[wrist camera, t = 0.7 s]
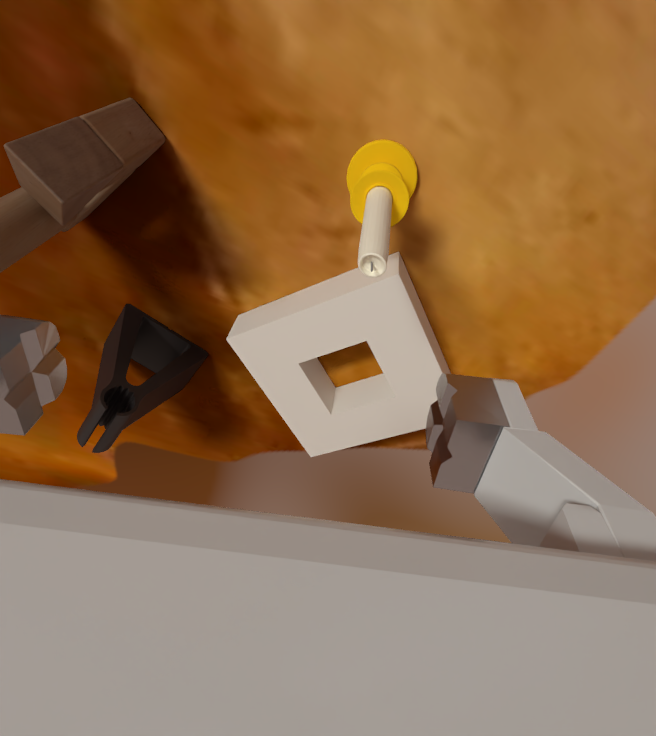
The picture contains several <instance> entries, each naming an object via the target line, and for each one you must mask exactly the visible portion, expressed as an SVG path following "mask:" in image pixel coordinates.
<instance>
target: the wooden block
mask: <svg viewBox="0 0 656 736" xmlns="http://www.w3.org/2000/svg"><path fill="white" fill-rule="evenodd" d="M164 142H165V137H164V135H163V134H162V133H161V131H160V130H159V129H158V128H157V127H156V125H155V124H154V123H153V122H152V121H151V119H150V118H149V117H148V116H147V115H146V113H145V112H144V111H143V110H142V109H141V107H140V106H139V105H138V104H137V103H136V101H135V100H133V99H132V98H127V99H124V100H122V101H119V102H116V103H114V104H111V105H108V106H106V107H103V108H100V109H98V110H95V111H92V112H90V113H87V114H84V115H82V116H79V117H75V118H72V119H70V120H67V121H65V122H62V123H59V124H57V125H54V126H51V127H49V128H46V129H43V130H41V131H38V132H35V133H33V134H30V135H27V136H25V137H22V138H19V139H17V140H14V141H11V142H8V143H6V144H5V145H4V148H5V150H6V153H7V155H8V157H9V160H10V162H11V165H12V167H13V169H14V172H15V174H16V177H17V179H18V181H19V184H20V186H21V188H19V189H17V190H15V191H13V192H11V193H9V194H7V195H5V196H3V197H1V198H0V272H2V271H3V270H5V269H6V268H8V267H9V266H11V265H12V264H13V263H15V262H16V261H18V260H19V259H21V258H22V257H24V256H25V255H26V254H28V253H29V252H31V251H32V250H34V249H35V248H37V247H38V246H40V245H41V244H42V243H44V242H45V241H47V240H48V239H50V238H51V237H53V236H54V235H55V234H57V233H58V232H60V231H63V232H65V231H68V230H69V229H71V228H72V227H73V226H75V225H76V224H78V223H79V222H81V221H82V220H83V219H85V218H86V217H87V216H88V215H89V214H90V213H92V212H93V211H94V210H95V209H96V208H97V207H98V206H99V205H100V204H101V203H102V202H103V201H104V200H105V199H106V198H107V197H108V196H109V195H110V194H111V193H112V192H113V191H114V190H115V189H117V188H118V187H119V186H120V185H121V184H122V183H123V182H124V181H125V180H126V179H127V178H128V177H129V176H130V175H131V174H132V173H133V172H134V171H135V169H136V168H138V167H139V166H141V165H142V164H143V163H144V162H145V161H146V160H147V159H148V158H149V157H150V156H151V155H152V154H153V153H154V152H155V151H156V150H157V149H158V148H159V147H160V146H161V145H162V144H164Z"/></svg>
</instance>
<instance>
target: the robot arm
mask: <svg viewBox="0 0 656 736" xmlns="http://www.w3.org/2000/svg"><path fill="white" fill-rule="evenodd" d="M59 341H60V338H59V335H58V331H57V328H56V326H55V325H53V324H52V323H51V322H49V321H42V320H35V319H29V318H22V317H15V316H9V315H0V433H6V434H16V435H25V434H26V433H27V432H28V431H29V430H30V428H31V427H32V426H33V425H34V424H35V423H36V421H37V420H38V419H39V418H40V417H41V416H42V415H43V410H42V406H43V405H45V404H47V403H49V402H52V401H54V400H55V399H56V398H57V397H58V396H59V394H60V393H61V392H62V390H63V388H64V385H65V382H66V379H67V366H66V362H65V358H64V357H63V356H62V355H61V354H60V353H59V352H58V351H57V350H56V349H55V347H56V346H57V344H58V343H59ZM436 393H437V399H438V400H437V401H435V402H434V403H433V404H431V406H430V409H429V413H428V417H427V423H426V444H427V448H428V449H429V450H430V451H431V452H432V456H431V460H430V462H429V464H430V471H431V477H432V483H433V487H435V488H441V489H448V490H454V491H462V492H468V493H474V496H475V497H476V499H477V500H478V501H479V502H480V504H481V505H482V506H483V507H484V509H485V510H486V511H487V512H488V514H489V515H490V516H491V517H492V519H493V520H494V521H495V522H496V524H497V525H498V526H499V527H500V529H501V530H502V531H503V532H504V534H505V535H506V536H507V537H508V539H509V540H510V541H511V542H512V543H505V542H497V541H489V540H481V539H473V538H465V537H456V536H448V535H440V534H431V533H423V532H415V531H407V530H400V529H392V528H384V527H376V526H367V525H360V524H352V523H344V522H336V521H329V520H320V519H313V518H305V517H297V516H289V515H281V514H273V513H266V512H258V511H250V510H242V509H234V508H226V507H218V506H210V505H202V504H194V503H185V502H178V501H170V500H162V499H154V498H146V497H138V496H130V495H121V494H114V493H106V492H97V491H89V490H82V489H74V488H66V487H58V486H50V485H42V484H34V483H26V482H18V481H10V480H2V479H0V736H656V517H655V516H654V514H653V513H652V512H651V511H649V510H648V509H647V508H646V507H644V506H643V505H642V504H641V503H639V502H638V501H637V500H635V499H634V498H633V497H631V496H630V495H629V494H627V493H626V492H624V491H623V490H622V489H621V488H619V487H618V486H617V485H615V484H614V483H613V482H611V481H610V480H608V479H607V478H606V477H605V476H603V475H602V474H601V473H599V472H598V471H597V470H595V469H594V468H593V467H591V466H590V465H589V464H588V463H586V462H585V461H583V460H582V459H581V458H580V457H578V456H577V455H575V454H574V453H573V452H572V451H570V450H569V449H568V448H566V447H565V446H564V445H562V444H561V443H560V442H558V441H557V440H556V439H554V438H553V437H552V436H550V435H549V434H548V433H546V432H541V431H538V429H537V427H536V424H535V422H534V420H533V418H532V416H531V413H530V411H529V409H528V407H527V405H526V402H525V400H524V398H523V396H522V393H521V391H520V389H519V387H518V384H517V383H516V382H515V381H513V380H506V379H495V378H482V377H473V376H464V375H455V374H445V373H442V374H441V376H440V378H439V380H438V383H437V386H436Z"/></svg>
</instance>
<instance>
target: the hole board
mask: <svg viewBox="0 0 656 736" xmlns="http://www.w3.org/2000/svg"><path fill="white" fill-rule="evenodd" d="M226 340H227V341H228V343H229V344H230V345H231V347H232V348H233V350H234V351H235V352H236V354H237V355H238V357H239V358H240V359H241V361H242V362H243V363H244V365H245V366H246V368H247V369H248V370H249V372H250V373H251V375H252V376H253V377H254V379H255V380H256V382H257V383H258V384H259V386H260V387H261V389H262V390H263V391H264V393H265V394H266V395H267V397H268V398H269V400H270V401H271V402H272V404H273V405H274V407H275V408H276V409H277V411H278V412H279V414H280V415H281V416H282V418H283V419H284V421H285V422H286V423H287V425H288V426H289V427H290V429H291V430H292V432H293V433H294V434H295V436H296V437H297V439H298V440H299V441H300V443H301V444H302V446H303V447H304V448H305V450H306V451H307V453H308V454H309V455H310V457H313V456H317V455H321V454H325V453H329V452H333V451H337V450H341V449H345V448H349V447H353V446H357V445H361V444H365V443H369V442H373V441H377V440H381V439H385V438H389V437H393V436H397V435H401V434H405V433H409V432H413V431H417V430H421V429H425V428H426V423H427V417H428V413H429V409H430V406H431V404H433V403H434V402H435V401H437V400H438V399H437V393H436V386H437V383H438V380H439V378H440V376H441V374H442V373H445V374H451V372H450V370H449V368H448V365H447V363H446V361H445V358H444V356H443V354H442V351H441V349H440V347H439V344H438V342H437V340H436V337H435V335H434V333H433V330H432V328H431V326H430V323H429V321H428V318H427V316H426V314H425V311H424V309H423V307H422V304H421V302H420V300H419V297H418V295H417V293H416V290H415V288H414V286H413V283H412V281H411V279H410V276H409V274H408V272H407V269H406V267H405V265H404V262H403V260H402V258H401V255H400V253H399V252H396V253H394V254H391V255H389V256H388V260H387V268H386V271H385V273H384V274H383V275H382V276H380V277H376V278H372V277H368V276H366V275H364V274H363V273H362V272H361V271H360V269H359V267H358V268H356V269H353V270H351V271H348V272H346V273H343V274H341V275H338V276H336V277H333V278H331V279H328V280H326V281H323V282H321V283H318V284H316V285H313V286H311V287H308V288H305V289H303V290H300V291H298V292H295V293H293V294H290V295H288V296H285V297H283V298H280V299H278V300H275V301H273V302H270V303H268V304H265V305H263V306H260V307H258V308H255V309H253V310H250V311H248V312H245V313H243V314H240V315H238V317H237V319H236V321H235V323H234V325H233V327H232V329H231V331H230V333H229V334H228V336H227V338H226ZM365 341H367V343H368V345H369V346H370V348H371V350H372V352H373V354H374V356H375V358H376V360H377V362H378V364H379V366H380V367H381V369H382V371H383V374H380V375H376V376H373V377H370V378H367V379H363V380H360V381H357V382H353V383H350V384H347V385H344V386H340V387H337V388H335V386H334V385H333V383H332V381H331V380H330V378H329V376H328V375H327V373H326V371H325V370H324V368H323V366H322V365H321V363H320V362H319V360H318V358H317V357H320V356H323V355H326V354H329V353H332V352H335V351H338V350H341V349H344V348H347V347H350V346H353V345H356V344H359V343H362V342H365Z"/></svg>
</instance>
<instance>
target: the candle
mask: <svg viewBox="0 0 656 736" xmlns="http://www.w3.org/2000/svg"><path fill="white" fill-rule="evenodd" d="M416 184H417V167H416V163H415V160H414V158H413V157H412V155H411V153H410V152H409V151H408V150H407V149H406V148H405V147H404V146H403V145H401V144H399V143H397V142H395V141H392V140H385V139H382V140H374V141H372V142H370V143H367V144H365V145H364V146H363V147H361V148H360V149H359V150H358V151H357V152H356V153H355V155H354V156H353V157H352V159H351V162H350V164H349V167H348V171H347V186H348V190H349V192H350V195H351V197H350V205H351V210H352V212H353V215H354V216H355V217H356V219H357V220H358V221H359V222H360V223H361V224H362V231H361V238H360V244H359V252H358V267H359V269H360V271H361V272H362V273H363V274H364V275H366V276H368V277H372V278H376V277H380V276H382V275H383V274H384V273H385V271H386V268H387V260H388V255H389V240H390V227H392V226H394V225H395V224H397V223H398V222H399V221H400V220H401V219H402V218H403V217H404V215H405V213H406V211H407V209H408V204H409V199H410V198H411V196H412V194H413V192H414V190H415V188H416Z"/></svg>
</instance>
